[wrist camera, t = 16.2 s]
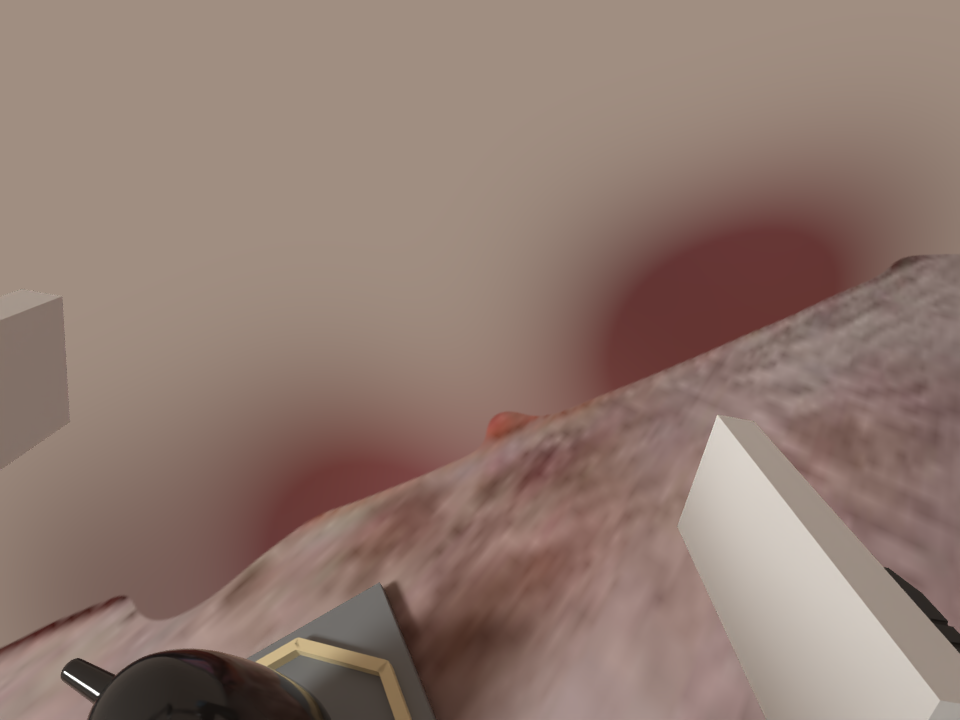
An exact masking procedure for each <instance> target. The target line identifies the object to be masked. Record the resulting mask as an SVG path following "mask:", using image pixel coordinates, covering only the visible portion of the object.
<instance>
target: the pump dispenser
mask: <svg viewBox="0 0 960 720" xmlns="http://www.w3.org/2000/svg"><path fill="white" fill-rule="evenodd" d="M61 679H62V681H63V682H65V683H66V684H67V685H69V686H70V687H71V688H73V689H74V690H75V691H77V692H78V693H79V694H81V695H82V696H83V697H85V698H86V699H87V700H89V701H90V702H91V703H93V706H92V708H91V710H90V713H89V715H88V718H87V720H331V717H330V715H329V714H328V712H327V710H326V709H325V707H324V706H323V704H322V703H321V702H320V701H319V700H318V699H317V698H316V697H315V696H314V695H313V694H312V693H311V692H310V691H309V690H308V689H306V688H305V687H304V686H302V685H301V684H299V683H298V682H296V681H294V680H292V679H291V678H289V677H287V676H285V675H283V674H282V673H280V672H278V671H276V670H274V669H271V668H269V667H267V666H264V665H262V664H259V663H257V662H254V661H251V660H248V659H244V658H241V657H238V656H234V655H231V654H227V653H223V652H218V651H213V650H205V649H173V650H166V651H161V652H157V653H153V654H150V655H147V656H144V657H142V658H140V659H138V660H136V661H134V662H132V663H131V664H129V665H128V666H126V667H125V668H124V669H122V670H121V671H120V672H119V673H118V674H116V675H115V674H113V673H110V672H108V671H106V670H104V669H102V668H100V667H98V666H95V665H93V664H91V663H89V662H87V661H85V660H83V659H80V658H76V659H73V660H71V661H70V662H68V663H67V664H66V665H65V667H64V668H63V670H62V672H61Z"/></svg>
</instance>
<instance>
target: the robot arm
mask: <svg viewBox="0 0 960 720" xmlns="http://www.w3.org/2000/svg"><path fill="white" fill-rule="evenodd" d="M69 422H70V419H69V401H68V384H67V368H66V351H65V334H64V319H63V302H62V296H58V295H53V294H47V293H41V292H36V291H30V290H25V289H20V290H17V291H14V292H12V293H9V294H6V295H3V296H0V470H1V469H2V468H4V467H5V466H7V465H8V464H10V463H11V462H13V461H14V460H15V459H17V458H18V457H19V456H21V455H23V454H24V453H25V452H27V451H28V450H30V449H31V448H33V447H34V446H36V445H37V444H39V443H40V442H41V441H43V440H44V439H46V438H47V437H49V436H50V435H52V434H53V433H55V432H56V431H57V430H59V429H60V428H62V427H63V426H65V425H66V424H68V423H69ZM677 527H678V529H679V531H680V533H681V536H682V538H683V540H684V542H685V544H686V546H687V549H688V551H689V553H690V555H691V557H692V560H693V562H694V564H695V566H696V568H697V570H698V573H699V575H700V577H701V579H702V581H703V583H704V586H705V588H706V590H707V592H708V594H709V597H710V599H711V601H712V603H713V605H714V607H715V610H716V612H717V614H718V616H719V618H720V621H721V623H722V625H723V627H724V629H725V631H726V634H727V636H728V638H729V640H730V642H731V644H732V647H733V649H734V651H735V653H736V655H737V658H738V660H739V662H740V664H741V666H742V668H743V671H744V673H745V675H746V677H747V679H748V681H749V684H750V686H751V688H752V690H753V692H754V695H755V697H756V699H757V701H758V703H759V705H760V708H761V710H762V712H763V714H764V716H765V719H766V720H960V634H959V633H958V632H957V631H956V630H955V628H954V627H951V626H948V624H947V623H948V621H947V620H946V619H945V618H944V616H943V615H942V614H941V613H940V612H939V611H938V610H937V609H936V608H935V607H934V606H933V605H932V603H931V602H930V601H929V600H928V599H927V598H926V597H925V596H924V595H923V594H922V593H921V592H920V591H918V590H917V589H916V588H914V587H913V586H912V585H910V584H909V583H908V582H906V581H905V580H904V579H902V578H901V577H900V576H898V575H897V574H896V573H894V572H893V571H892V570H890V569H889V568H885V567H883V566H882V565H881V564H880V563H879V562H878V561H877V560H876V559H875V557H874V556H873V555H872V554H871V553H870V552H869V551H868V549H867V548H866V547H865V546H864V545H863V544H862V543H861V542H860V540H859V539H858V538H857V537H856V536H855V535H854V534H853V533H852V531H851V530H850V529H849V528H848V527H847V526H846V525H845V524H844V522H843V521H842V520H841V519H840V518H839V517H838V516H837V514H836V513H835V512H834V511H833V510H832V509H831V508H830V507H829V505H828V504H827V503H826V502H825V501H824V500H823V499H822V498H821V496H820V495H819V494H818V493H817V492H816V491H815V490H814V489H813V487H812V486H811V485H810V484H809V483H808V482H807V481H806V480H805V478H804V477H803V476H802V475H801V474H800V473H799V472H798V470H797V469H796V468H795V467H794V466H793V465H792V464H791V463H790V461H789V460H788V459H787V458H786V457H785V456H784V455H783V454H782V452H781V451H780V450H779V449H778V448H777V447H776V446H775V445H774V443H773V442H772V441H771V440H770V439H769V438H768V437H767V435H766V434H765V433H764V432H763V431H762V430H761V429H760V428H759V426H758V425H757V424H756V423H755V422H754V421H750V420H744V419H739V418H733V417H728V416H722V415H717V417H716V420H715V423H714V426H713V429H712V431H711V434H710V437H709V440H708V443H707V445H706V448H705V451H704V454H703V456H702V459H701V462H700V465H699V468H698V470H697V473H696V476H695V479H694V481H693V484H692V487H691V490H690V493H689V495H688V498H687V501H686V504H685V507H684V509H683V512H682V515H681V518H680V520H679V523H678V526H677Z"/></svg>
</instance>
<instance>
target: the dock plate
mask: <svg viewBox="0 0 960 720" xmlns="http://www.w3.org/2000/svg"><path fill="white" fill-rule="evenodd" d="M247 659H248V660H251V661H254V662H257V663H259V664H262V665H264V666H267V667H269V668H271V669H274V670H276V671H278V672H280V673H282V674H283V675H285V676H287V677H289V678H291V679H292V680H294V681H296V682H298V683H299V684H301V685H302V686H304V687H305V688H306V689H308V690H309V691H310V692H311V693H312V694H313V695H314V696H315V697H316V698H317V699H318V700H319V701H320V702H321V703H322V704H323V706H324V707H325V709H326V710H327V712H328V714H329V715H330V717H331V720H436V718H435V716H434V713H433V711H432V708H431V706H430V703H429V700H428V698H427V695H426V693H425V690H424V688H423V685H422V683H421V680H420V678H419V675H418V673H417V670H416V668H415V665H414V663H413V660H412V658H411V655H410V653H409V650H408V648H407V645H406V643H405V640H404V638H403V635H402V633H401V630H400V628H399V625H398V623H397V620H396V618H395V615H394V613H393V610H392V608H391V605H390V603H389V600H388V598H387V595H386V593H385V590H384V588H383V587H382V585H381V584H380V582H379V583H378V584H376V585H374V586H372V587H371V588H369V589H367V590H366V591H364V592H362V593H360V594H359V595H357V596H355V597H353V598H352V599H350V600H348V601H346V602H345V603H343V604H341V605H339V606H338V607H336V608H334V609H332V610H331V611H329V612H327V613H325V614H324V615H322V616H320V617H318V618H317V619H315V620H313V621H312V622H310V623H308V624H306V625H305V626H303V627H301V628H299V629H298V630H296V631H294V632H292V633H291V634H289V635H287V636H285V637H284V638H282V639H280V640H278V641H277V642H275V643H273V644H271V645H270V646H268V647H266V648H265V649H263V650H261V651H259V652H258V653H256V654H254V655H252V656H251V657H249V658H247Z"/></svg>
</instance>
